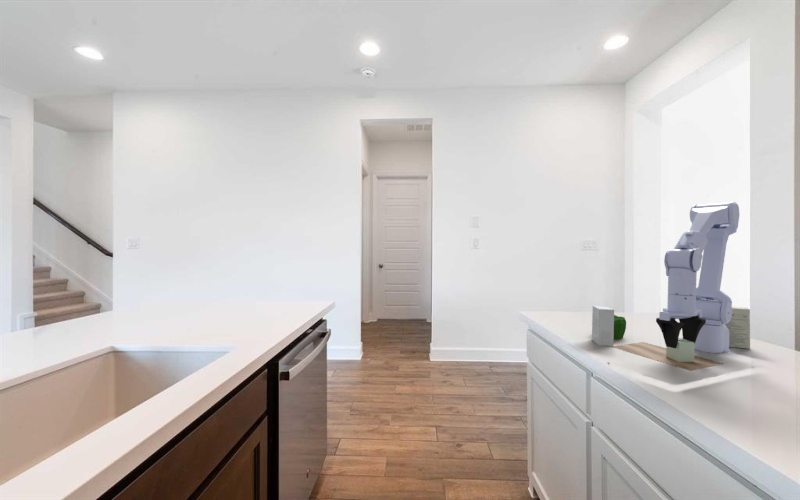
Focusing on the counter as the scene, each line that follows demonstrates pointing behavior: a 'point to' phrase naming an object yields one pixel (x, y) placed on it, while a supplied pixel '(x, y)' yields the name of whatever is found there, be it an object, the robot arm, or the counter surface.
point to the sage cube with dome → (681, 351)
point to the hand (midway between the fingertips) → (680, 345)
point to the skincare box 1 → (603, 325)
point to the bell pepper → (619, 327)
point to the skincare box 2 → (739, 328)
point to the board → (660, 355)
